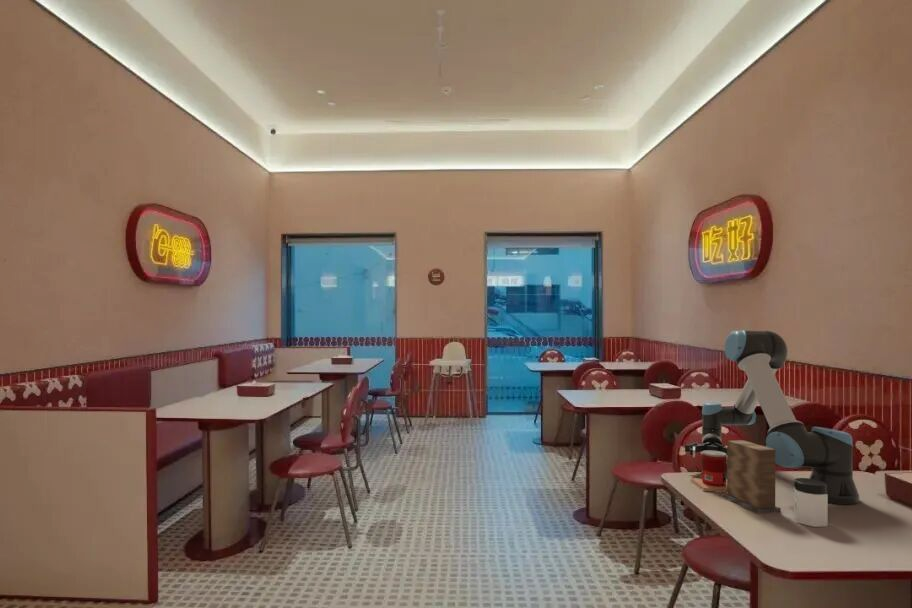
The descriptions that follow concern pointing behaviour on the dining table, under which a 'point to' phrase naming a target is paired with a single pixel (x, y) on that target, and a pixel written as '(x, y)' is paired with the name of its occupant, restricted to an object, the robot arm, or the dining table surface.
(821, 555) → the dining table surface
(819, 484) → the jar
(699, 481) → the terracotta tile
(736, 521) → the dining table surface
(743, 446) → the wooden block
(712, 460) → the canned food
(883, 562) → the dining table surface
